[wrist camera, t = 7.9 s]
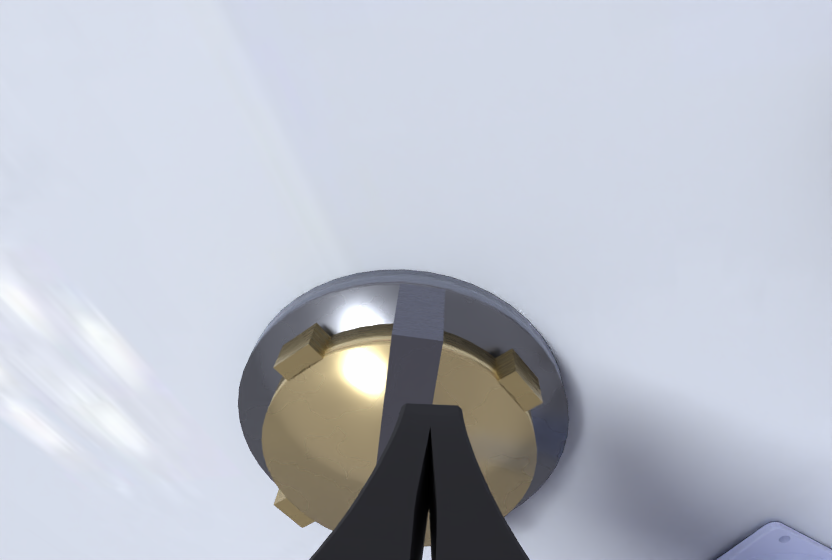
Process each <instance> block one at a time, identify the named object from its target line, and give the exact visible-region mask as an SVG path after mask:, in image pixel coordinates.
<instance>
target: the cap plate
mask: <svg viewBox="0 0 832 560" xmlns="http://www.w3.org/2000/svg"><path fill="white" fill-rule="evenodd" d="M400 283H402V284H410V285H417V286H425V287H433V288H440V289H445V299H444V331H445V332H448V333H451V334H454V335H456V336H459V337H461V338H463V339H466V340H468V341H470V342H472V343H474V344H475V345H477V346H479V347H480V348H482V349H484V350H486V351H487V352H488V353H489V354H491V355H492V356H493V357H495V358H496V357H498V356H500V355H501V354H503V353H505V352H507V351H508V350H510V349H512V348H513V350H514V351H515V352H516V353H517V354H518V355H519V357H520V358H521V359H522V360H523V361H524V363H525V364H526V365H527V366H528V367H529V368H530V370H531V371H532V372H533V373H534V374H535V376H536V377H537V378H538V380H539V385H540V390H541V395H542V400H543V403H542V404H540V405H538V406H536V407H534V408H532V409H530V410H531V415H532V421H533V427H534V433H535V439H536V446H537V463H536V468H535V472H534V476H533V479H532V481H531V484H530V486H529V488H528V490H527V491H526V493H525V495H524V496H523V498H522V499H521V500H520V502H519V503H518V504H517V505H516V506H515V508H516V507H518V506H519V505H521V504H522V503H524V502H525V501H526V500H527V499H528V498H530V497H531V496H532V495H533V494H534V493H535V492H536V491H537V490H538V489H539V488H540V487H541V486H542V485H543V484H544V483H545V481H546V480H547V479H548V478H549V476H550V475H551V473H552V472H553V470H554V469H555V467H556V465H557V463H558V461H559V459H560V457H561V455H562V452H563V449H564V446H565V442H566V438H567V433H568V422H569V416H568V404H567V399H566V395H565V391H564V387H563V383H562V379H561V375H560V372H559V368H558V365H557V363H556V361H555V358H554V356H553V354H552V352H551V350H550V348H549V347H548V345H547V344H546V342H545V341H544V339H543V337H542V336H541V334H540V333H539V332H538V331H537V330H536V329H535V328H534V327H533V325H532V324H531V323H530V322H529V321H528V320H527V319H526V318H525V317H524V316H523V315H521V314H520V313H519V312H518V311H517V310H515V309H514V308H513V307H512V306H511V305H509V304H508V303H506V302H504V301H503V300H501V299H500V298H498V297H497V296H495V295H494V294H492V293H490V292H488V291H485V290H483V289H481V288H479V287H477V286H475V285H473V284H470V283H467V282H464V281H461V280H458V279H455V278H452V277H449V276H444V275H440V274H435V273H430V272H424V271H413V270H377V271H370V272H363V273H356V274H353V275H349V276H345V277H341V278H338V279H334V280H332V281H329V282H327V283H325V284H322V285H320V286H317V287H315V288H313V289H311V290H310V291H308V292H306V293H305V294H303V295H301V296H299V297H298V298H296V299H295V300H294V301H292V302H291V303H290V304H289V305H287V306H286V307H285V308H284V309H282V310H281V311H280V312H279V313H278V315H277V316H276V317H275V318H274V319H273V320H272V321H271V322H270V323H269V324H268V326H267V327H266V329H265V330H264V332H263V333H262V335H261V336H260V338H259V340H258V342H257V344H256V346H255V347H254V349H253V351H252V353H251V355H250V358H249V360H248V362H247V364H246V366H245V369H244V371H243V375H242V378H241V382H240V386H239V398H238V408H239V419H240V423H241V427H242V431H243V434H244V437H245V439H246V442H247V444H248V446H249V449H250V451H251V452H252V454H253V456H254V457H255V459H256V460H257V462H258V464H259V465H260V466H261V468H262V469H263V470H264V471H265V473H266V474H267V475H268V476H269V477H270V479H271V480H272V481H273V482H274V480H273V479H272V477H271V475H270V472H269V470H268V468H267V466H266V462H265V459H264V455H263V449H262V427H263V423H264V419H265V415H266V413H267V410H268V408H269V405H270V403H271V400H272V398H273V396H274V393H275V391H276V388H277V386H278V384H279V382H280V380H281V378H282V375H281V374H280V373H279V372H277V371H276V370H275V369H274V368H273V367H274V365H275V362H276V360H277V358H278V356H279V353H280V351H281V349H282V347H283V345H284V344H286V343H287V342H289V341H290V340H292V339H293V338H295V337H296V336H298V335H299V334H300V333H302V332H303V331H305V330H306V329H308V328H309V327H311V326H312V325H314V324H315V323H317V324H318V325H319V326H320V327H321V328H322V329H323V330H324V331H325V332H326V333H327V334H328V335H329V336H333V335H335V334H338V333H340V332H342V331H346V330H350V329H354V328H357V327H362V326H369V325H376V324H393V323H394V317H395V311H396V305H397V299H398V293H399V287H400ZM515 508H514V509H515Z"/></svg>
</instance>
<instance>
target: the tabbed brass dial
mask: <svg viewBox="0 0 832 560" xmlns="http://www.w3.org/2000/svg"><path fill="white" fill-rule="evenodd" d="M444 299H445V289H440V288H433V287H425V286H417V285H410V284H402V283H400V287H399V293H398V299H397V305H396V311H395V317H394V323H393V324H376V325H369V326H362V327H357V328H354V329H350V330H346V331H342V332H340V333H338V334H335V335H333V336H329V335H328V334H327V333H326V332H325V331H324V330H323V329H322V328H321V327H320V326H319V325H318V324H317V323H315V324H314V325H312V326H311V327H309V328H308V329H306V330H305V331H303V332H302V333H300V334H299V335H298V336H296V337H295V338H293V339H292V340H290V341H289V342H287V343H286V344H284V345H283V347H282V349H281V351H280V353H279V356H278V358H277V360H276V362H275V365H274V367H273V368H274V369H275V370H276V371H277V372H279V373H280V374H281V375H282V378H281V380H280V382H279V384H278V386H277V388H276V391H275V393H274V396H273V398H272V400H271V403H270V405H269V408H268V410H267V413H266V415H265V419H264V423H263V427H262V449H263V455H264V459H265V462H266V466H267V468H268V470H269V472H270V475H271V477H272V479H273V480H274V482H275V483H276V485H277V486H278V488H279V490H278V493H277V496H276V499H275V502H274V505H275V506H276V507H277V508H278V509H279V510H281V511H282V512H283V513H284V514H286V515H287V516H288V517H289V518H291V519H292V520H293V521H294V522H296V523H297V524H298V525H299V526H301V527H302V528H303V527H305V526H307V525H309V524H311V523H313V522H315V521H316V522H317V523H319V524H321V525H322V526H324V527H326V528H328V529H330V530H332V531H333V530H334V529H335V527H336V526H337V525H338V523H339V522H340V521H341V519H342V518H343V517H344V515H345V514H346V512H347V511H348V510H349V508H350V507H351V505H352V504H353V502H354V501H355V499H356V498H357V496H358V495H359V493H360V491H361V490H362V488H363V486H364V485H365V483H366V482H367V480H368V478H369V477H370V475H371V473H372V472H373V470H374V468H375V466H376V464H377V463H378V461H379V459H380V457H381V455H382V453H383V451H384V449H385V447H386V445H387V443H388V441H389V439H390V437H391V435H392V432H393V430H394V428H395V425H396V423H397V420H398V417H399V414H400V411H401V407H402V406H403V405H405V404H406V403H410V404H435V405H458V406H459V407H460V408H461V409H462V412H463V418H464V423H465V427H466V431H467V434H468V437H469V440H470V443H471V446H472V449H473V452H474V454H475V457H476V460H477V462H478V464H479V467H480V469H481V471H482V474H483V476H484V479H485V481H486V483H487V485H488V487H489V489H490V492H491V494H492V496H493V498H494V500H495V501H496V503H497V505H498V507H499V509H500V511H501V513H502V515H503V517H505V516H506V515H507V514H508V513H509V512H510V511H512V510H513V509H514V508H515V506H516V505H517V504H518V503H519V502H520V500H521V499H522V498H523V496H524V495H525V493H526V491H527V490H528V488H529V486H530V484H531V481H532V479H533V476H534V472H535V468H536V463H537V446H536V439H535V433H534V427H533V421H532V415H531V410H530V409H532V408H534V407H536V406H538V405H540V404H542V403H543V400H542V395H541V390H540V385H539V380H538V378H537V377H536V376H535V374H534V373H533V372H532V371H531V370H530V368H529V367H528V366H527V365H526V364H525V363H524V361H523V360H522V359H521V358H520V357H519V355H518V354H517V353H516V352H515V351H514V350H513V348H512V349H510V350H508V351H507V352H505V353H503V354H501V355H500V356H498V357H496V358H495V357H493V356H492V355H491V354H489V353H488V352H487V351H486V350H484V349H482V348H480V347H479V346H477V345H475V344H474V343H472V342H470V341H468V340H466V339H463V338H461V337H459V336H456V335H454V334H451V333H448V332H445V331H444ZM424 546H431V538H430V519H429V512H428V519H427V526H426V534H425V541H424Z"/></svg>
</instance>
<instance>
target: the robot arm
mask: <svg viewBox="0 0 832 560" xmlns="http://www.w3.org/2000/svg"><path fill="white" fill-rule="evenodd" d="M428 512H429V519H430V538H431V557H432V560H529V558H528V556H527V555H526V553H525V552H524V550H523V549H522V547H521V546H520V544H519V542H518V541H517V539H516V537H515V536H514V534H513V532H512V531H511V529H510V527H509V526H508V524H507V522H506V520H505V519H504V517H503V515H502V513H501V511H500V509H499V507H498V505H497V503H496V501H495V500H494V498H493V496H492V494H491V492H490V489H489V487H488V485H487V483H486V481H485V479H484V476H483V474H482V471H481V469H480V467H479V464H478V462H477V460H476V457H475V454H474V452H473V449H472V446H471V443H470V440H469V437H468V434H467V431H466V427H465V423H464V418H463V412H462V409H461V408H460V407H459V406H458V405H435V404H410V403H406V404H405V405H403V406H402V407H401V411H400V414H399V417H398V420H397V423H396V425H395V428H394V430H393V432H392V435H391V437H390V439H389V441H388V443H387V445H386V447H385V449H384V451H383V453H382V455H381V457H380V459H379V461H378V463H377V464H376V466H375V468H374V470H373V472H372V473H371V475H370V477H369V478H368V480H367V482H366V483H365V485H364V486H363V488H362V490H361V491H360V493H359V495H358V496H357V498H356V499H355V501H354V502H353V504H352V505H351V507H350V508H349V510H348V511H347V512H346V514H345V515H344V517H343V518H342V519H341V521H340V522H339V523H338V525H337V526H336V527H335V529H334V530H333V531H332V533H331V534H330V535H329V536H328V538H327V539H326V540H325V541H324V543H323V544H322V545H321V546H320V547H319V549H318V550H317V551H316V552H315V554H314V555H313V556H312V557H311V558H310V559H309V560H422V555H423V548H424V541H425V534H426V526H427V519H428ZM717 560H832V549H830V548H828V547H826V546H824V545H822V544H820V543H818V542H816V541H814V540H812V539H811V538H809V537H807V536H805V535H803V534H801V533H799V532H797V531H795V530H793V529H791V528H790V527H788V526H786V525H784V524H782V523H779V522H771V523H768V524H766V525H764V526H763V527H762V528H760V529H759V530H757V531H756V532H755V533H753V534H752V535H750V536H749V537H748V538H746V539H745V540H743V541H742V542H741V543H739V544H738V545H736V546H735V547H733V548H732V549H731V550H729V551H728V552H726V553H725V554H724V555H722V556H721V557H719V558H718V559H717Z"/></svg>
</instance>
